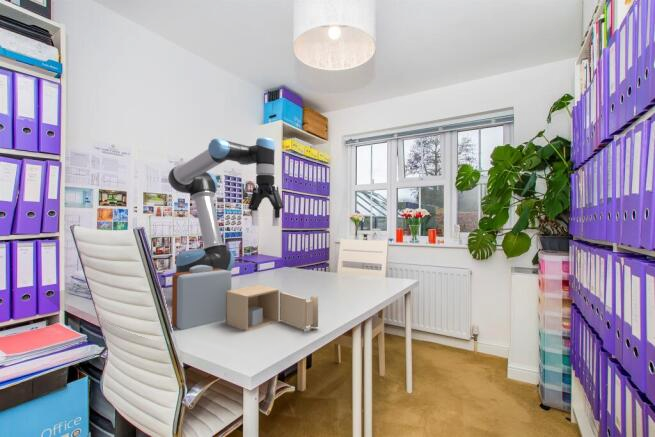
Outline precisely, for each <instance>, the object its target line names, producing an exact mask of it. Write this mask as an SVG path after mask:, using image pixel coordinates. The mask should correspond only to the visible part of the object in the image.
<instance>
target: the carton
mask: <svg viewBox="0 0 655 437" xmlns="http://www.w3.org/2000/svg"><path fill="white" fill-rule="evenodd" d="M251 306H255V307H261V308H263V322H261V323H258V324H256V325H254V326H251V325H248V307H251ZM279 321H280V289H279V288H275V287H270V286H266V285H261V284H256V285H250V286H245V287H241V288H235V289H231V290H229V291H226V320H225V324H226V325H229V326H232V327H235V328H237V329H240V330H242V331H245V332H248V331H251V330H255V329H258V328H261V327H264V326H266V325H267V326H268V325H271V324H274V323H276V322H279Z"/></svg>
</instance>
